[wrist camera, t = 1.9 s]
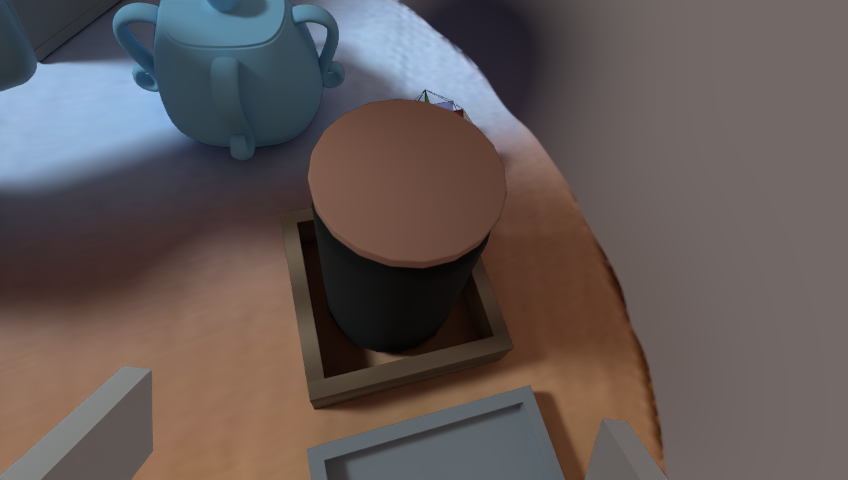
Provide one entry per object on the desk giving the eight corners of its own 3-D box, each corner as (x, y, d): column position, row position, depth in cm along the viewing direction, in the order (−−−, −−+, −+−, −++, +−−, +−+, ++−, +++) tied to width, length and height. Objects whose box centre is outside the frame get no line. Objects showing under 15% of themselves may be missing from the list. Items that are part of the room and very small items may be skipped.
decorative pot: (134, 98, 47) (58, -34, 35) (263, 32, 54) (235, -98, 42) (236, 196, 43) (189, 85, 31) (360, 111, 50) (361, -7, 38)
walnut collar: (286, 235, 41) (279, 212, 38) (446, 207, 45) (453, 184, 42) (314, 409, 35) (310, 400, 31) (499, 360, 38) (513, 347, 35)
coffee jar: (456, 254, 43) (514, 119, 27) (439, 368, 38) (500, 282, 22) (343, 231, 42) (336, 81, 27) (311, 343, 37) (279, 237, 21)
